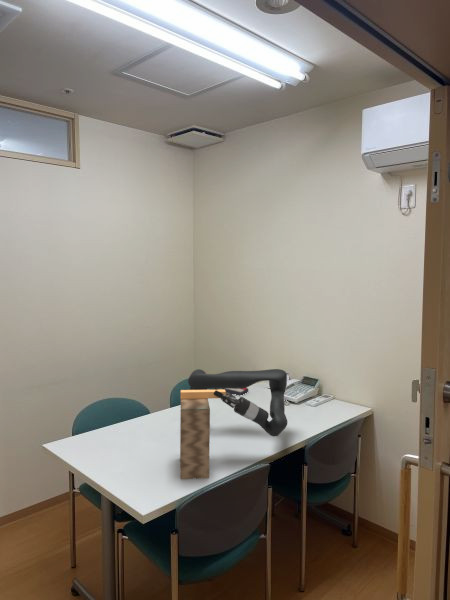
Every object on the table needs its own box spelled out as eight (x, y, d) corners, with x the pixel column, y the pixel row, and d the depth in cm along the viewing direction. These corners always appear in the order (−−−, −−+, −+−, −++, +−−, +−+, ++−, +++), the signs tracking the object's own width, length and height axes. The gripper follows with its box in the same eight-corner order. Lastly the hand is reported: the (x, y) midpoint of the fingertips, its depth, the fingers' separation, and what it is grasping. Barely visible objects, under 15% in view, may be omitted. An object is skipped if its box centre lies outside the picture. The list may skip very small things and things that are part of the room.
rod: (180, 399, 197) (180, 392, 197) (180, 396, 201) (180, 390, 200) (225, 398, 199) (225, 391, 199) (224, 395, 203) (224, 389, 202)
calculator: (241, 391, 302) (222, 387, 310) (240, 397, 303) (222, 393, 310) (248, 387, 312) (230, 383, 319) (248, 393, 312) (229, 389, 320)
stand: (180, 479, 187) (181, 409, 184) (180, 458, 206) (180, 394, 204) (209, 478, 188) (209, 408, 185) (206, 457, 208) (206, 394, 205)
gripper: (248, 397, 209) (216, 379, 207) (253, 406, 195) (219, 388, 193) (240, 410, 210) (208, 393, 207) (244, 421, 196) (211, 402, 193)
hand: (214, 390), depth 200 cm, fingers closed on rod, 3 cm apart
